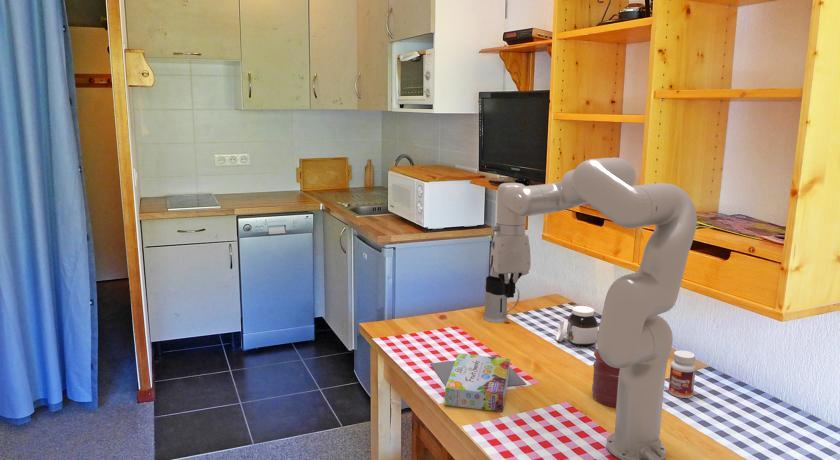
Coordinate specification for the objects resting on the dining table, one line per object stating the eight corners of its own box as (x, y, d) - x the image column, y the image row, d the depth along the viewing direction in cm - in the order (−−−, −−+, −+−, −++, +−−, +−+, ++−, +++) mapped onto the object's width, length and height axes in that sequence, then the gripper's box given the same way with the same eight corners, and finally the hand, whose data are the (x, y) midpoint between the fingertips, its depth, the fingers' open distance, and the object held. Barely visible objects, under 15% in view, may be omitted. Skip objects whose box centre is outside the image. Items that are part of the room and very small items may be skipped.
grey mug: (493, 312, 235) (494, 273, 232) (525, 322, 225) (526, 281, 222) (478, 318, 228) (479, 278, 225) (510, 328, 219) (512, 286, 216)
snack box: (504, 392, 158) (444, 387, 161) (503, 412, 159) (444, 407, 163) (510, 356, 178) (457, 352, 181) (509, 375, 180) (456, 370, 183)
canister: (586, 386, 174) (589, 325, 171) (633, 387, 174) (638, 325, 171) (598, 409, 161) (603, 343, 158) (650, 409, 161) (655, 344, 158)
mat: (526, 384, 175) (526, 383, 175) (450, 393, 170) (450, 392, 170) (499, 357, 194) (499, 356, 194) (430, 364, 189) (430, 363, 189)
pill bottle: (667, 396, 169) (671, 356, 166) (669, 386, 174) (672, 348, 172) (692, 400, 166) (696, 360, 164) (693, 391, 172) (697, 351, 170)
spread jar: (600, 348, 202) (602, 313, 199) (568, 351, 199) (570, 316, 196) (580, 334, 213) (582, 301, 211) (550, 338, 210) (551, 304, 207)
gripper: (489, 234, 163) (487, 302, 166) (542, 231, 166) (540, 298, 170) (479, 228, 170) (477, 294, 173) (530, 225, 173) (528, 290, 177)
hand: (508, 296), depth 172 cm, fingers closed
